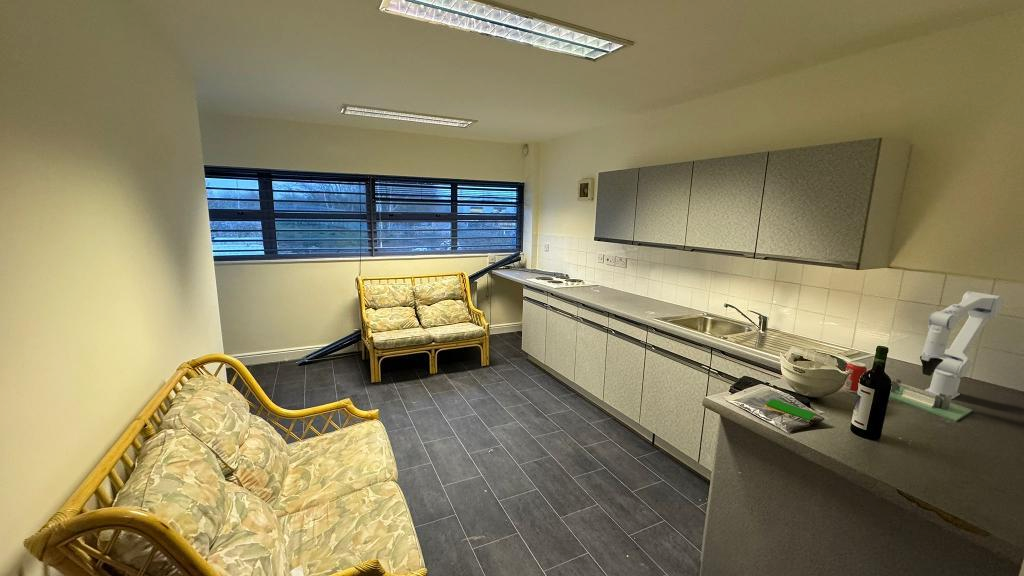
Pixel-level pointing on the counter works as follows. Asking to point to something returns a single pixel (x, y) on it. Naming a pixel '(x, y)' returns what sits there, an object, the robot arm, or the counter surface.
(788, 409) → the dish sponge
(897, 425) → the counter surface
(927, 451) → the counter surface
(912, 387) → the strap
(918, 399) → the heatsink board
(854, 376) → the beverage can
